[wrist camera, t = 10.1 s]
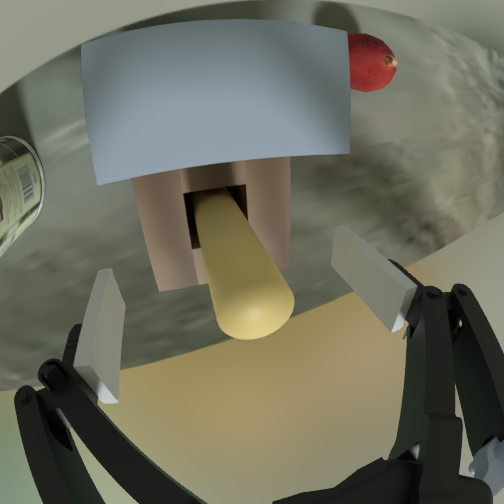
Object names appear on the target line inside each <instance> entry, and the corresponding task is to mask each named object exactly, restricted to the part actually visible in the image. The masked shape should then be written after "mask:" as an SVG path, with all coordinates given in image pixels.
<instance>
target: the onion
mask: <svg viewBox="0 0 504 504" xmlns="http://www.w3.org/2000/svg"><path fill="white" fill-rule="evenodd" d="M347 36H348V49H349V68H350V88H351V89H355V90H359V91H364V92H370V91H375V90H379V89H382V88H383V87H385V86H386V85H387V84H389V83H390V81H391V80H392V78H393V76H394V74H395V72H396V65H397V64H398V62H397V60H396V59H395V56H394V54H393V52H392V51H391V50H390V48H389V47H388V46H387V45H386V44H385V43H384V42H383V41H382V40H380V39H378V38H376V37H374V36H371V35H368V34H348V35H347Z"/></svg>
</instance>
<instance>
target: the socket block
mask: <svg viewBox="0 0 504 504" xmlns="http://www.w3.org/2000/svg"><path fill="white" fill-rule="evenodd" d="M132 184H133V189H134V194H135V199H136V203H137V208H138V213H139V217H140V221H141V226H142V230H143V234H144V238H145V242H146V246H147V250H148V254H149V257H150V261H151V265H152V268H153V272H154V275H155V279H156V282H157V286H158V289H159V292H162V291H167V290H173V289H179V288H185V287H190V286H196V285H201V284H207V283H208V279H207V274H206V270H205V265H204V260H203V256H202V251H201V246H200V241H199V236H198V231H197V226H196V224H191V225H189V223H188V217H187V210H186V204H185V197H184V193H188V192H194V191H200V190H207V189H213V188H220V187H227V186H235V197H236V203H237V205H238V207H239V208H240V210H241V211H242V213H243V214H244V216H245V218H246V219H247V221H248V222H249V224H250V225H251V227H252V229H253V230H254V232H255V233H256V235H257V237H258V238H259V240H260V241H261V243H262V245H263V246H264V248H265V249H266V251H267V253H268V254H269V256H270V257H271V259H272V260H273V262H274V264H275V265H276V267H277V269H278V270H280V269H285V268H289V260H290V156H285V157H272V158H261V159H250V160H241V161H232V162H224V163H216V164H208V165H201V166H195V167H188V168H182V169H176V170H170V171H164V172H159V173H153V174H148V175H143V176H138V177H133V178H132Z"/></svg>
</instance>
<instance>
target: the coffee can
mask: <svg viewBox="0 0 504 504" xmlns="http://www.w3.org/2000/svg"><path fill="white" fill-rule="evenodd" d="M44 194H45V181H44V173H43V169H42V165H41V163H40V160H39V158H38V156H37V154H36V152H35V151H34V149H33V148H32V147H31V146H30V145H29V144H28V143H27V142H26V141H24V140H23V139H21V138H18V137H15V136H4V137H1V138H0V257H1V256H2V255H3V253H4V252H5V251H6V250H7V249H8V247H9V246H10V245H11V244H12V243H13V242H14V241H15V239H16V238H17V237H18V236H19V235H20V234H21V233H22V232H23V231H24V230H25V229H26V228H27V227H28V226H29V225H30V224H31V223H32V222H34V220H35V219H36V217H37V216H38V214H39V212H40V210H41V207H42V204H43V200H44Z"/></svg>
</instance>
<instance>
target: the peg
mask: <svg viewBox="0 0 504 504" xmlns="http://www.w3.org/2000/svg"><path fill="white" fill-rule="evenodd" d="M192 205H193V211H194V216H195V221H196V226H197V231H198V236H199V241H200V246H201V251H202V256H203V260H204V265H205V270H206V274H207V279H208V283H209V288H210V292H211V296H212V301H213V305H214V309H215V313H216V318H217V321H218V324H219V326H220V328H221V329H222V330H223V331H224V332H225V333H226V334H228V335H229V336H231V337H234V338H238V339H256V338H260V337H264V336H266V335H269V334H271V333H273V332H274V331H276V330H277V329H279V328H280V327H281V326H282V325H283V324H284V323H285V322H286V321H287V320H288V319H289V317H290V315H291V313H292V311H293V308H294V296H293V293H292V291H291V289H290V288H289V286H288V285H287V283H286V281H285V280H284V278H283V277H282V275H281V273H280V272H279V270H278V269H277V267H276V265H275V264H274V262H273V260H272V259H271V257H270V256H269V254H268V253H267V251H266V249H265V248H264V246H263V245H262V243H261V241H260V240H259V238H258V237H257V235H256V233H255V232H254V230H253V229H252V227H251V225H250V224H249V222H248V221H247V219H246V218H245V216H244V214H243V213H242V211H241V210H240V208H239V207H238V205H237V203H236V202H235V200H234V199H233V197H232V196H231V194H230V192H229V191H228V189H227V188H226V187H220V188H213V189H207V190H200V191H194V192H193V194H192Z"/></svg>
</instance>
